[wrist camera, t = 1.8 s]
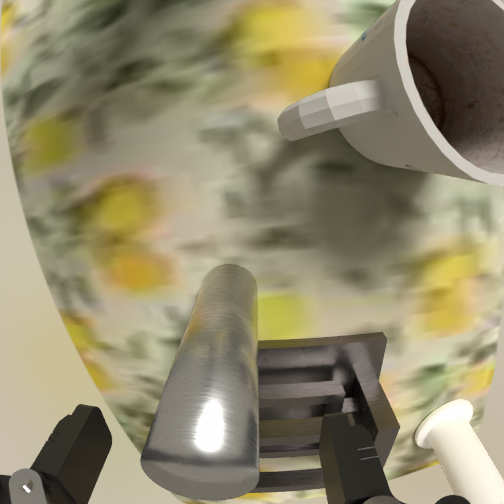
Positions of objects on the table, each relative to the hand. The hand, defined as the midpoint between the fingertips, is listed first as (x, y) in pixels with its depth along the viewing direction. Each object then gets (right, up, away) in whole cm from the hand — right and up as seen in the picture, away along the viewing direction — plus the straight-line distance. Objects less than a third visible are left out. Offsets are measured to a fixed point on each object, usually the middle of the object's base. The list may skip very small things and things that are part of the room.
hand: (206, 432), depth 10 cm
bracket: (+4, -6, +14) cm, 16 cm away
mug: (+9, +16, +8) cm, 19 cm away
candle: (+22, -12, +16) cm, 30 cm away
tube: (0, +4, +11) cm, 12 cm away
